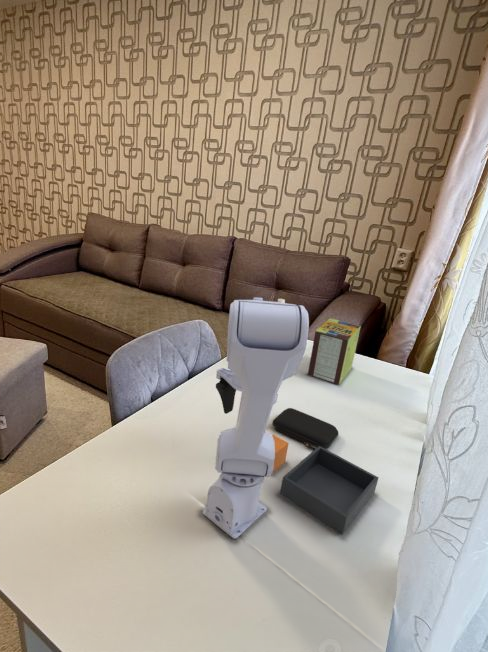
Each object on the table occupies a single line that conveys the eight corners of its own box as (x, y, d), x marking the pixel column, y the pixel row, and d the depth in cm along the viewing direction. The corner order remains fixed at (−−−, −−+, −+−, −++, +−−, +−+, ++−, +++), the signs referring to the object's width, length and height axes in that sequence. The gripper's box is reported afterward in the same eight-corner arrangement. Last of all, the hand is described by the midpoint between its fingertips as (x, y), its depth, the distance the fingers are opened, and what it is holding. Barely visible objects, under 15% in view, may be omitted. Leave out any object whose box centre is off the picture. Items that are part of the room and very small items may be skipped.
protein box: (351, 367, 133) (361, 325, 128) (339, 385, 121) (349, 339, 115) (321, 359, 138) (329, 317, 132) (306, 375, 126) (314, 330, 120)
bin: (341, 536, 69) (346, 517, 68) (279, 495, 77) (282, 477, 76) (373, 494, 79) (378, 477, 78) (315, 462, 87) (319, 445, 86)
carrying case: (266, 431, 96) (322, 458, 89) (267, 421, 95) (325, 447, 88) (286, 413, 105) (339, 436, 97) (287, 403, 103) (342, 426, 96)
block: (272, 474, 83) (275, 453, 81) (256, 464, 85) (259, 444, 83) (285, 463, 86) (288, 442, 84) (270, 454, 89) (273, 434, 87)
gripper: (289, 369, 77) (280, 427, 83) (233, 345, 86) (228, 399, 91) (268, 380, 72) (260, 441, 78) (211, 354, 81) (207, 410, 86)
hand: (241, 419), depth 84 cm, fingers open, 7 cm apart
